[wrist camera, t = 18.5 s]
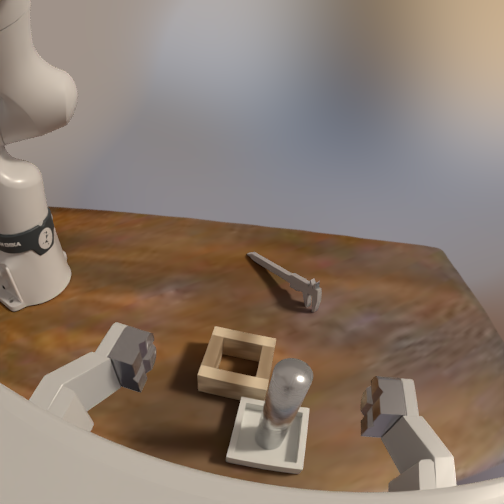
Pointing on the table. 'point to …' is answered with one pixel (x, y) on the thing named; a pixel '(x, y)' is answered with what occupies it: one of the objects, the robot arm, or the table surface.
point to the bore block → (238, 347)
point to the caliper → (293, 281)
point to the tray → (252, 455)
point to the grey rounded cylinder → (282, 401)
